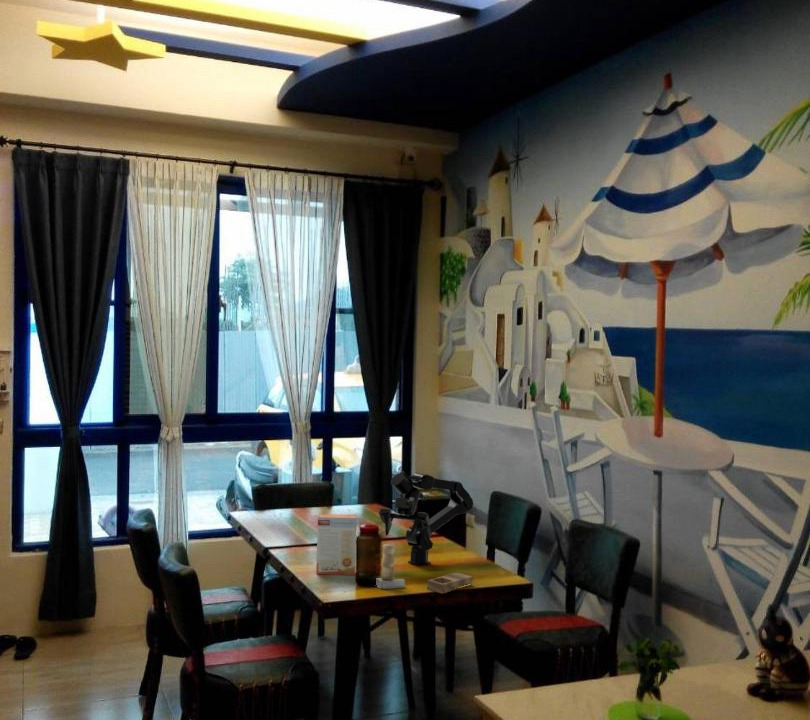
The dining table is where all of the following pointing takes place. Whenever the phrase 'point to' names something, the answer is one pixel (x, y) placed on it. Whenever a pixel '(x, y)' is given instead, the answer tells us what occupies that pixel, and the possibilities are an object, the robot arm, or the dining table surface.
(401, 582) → the v cradle
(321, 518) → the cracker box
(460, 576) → the wooden socket block
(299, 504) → the dining table surface
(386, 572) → the dowel
